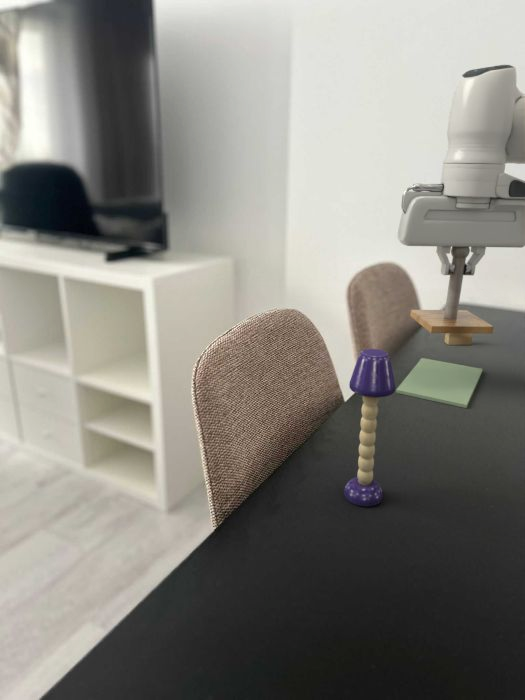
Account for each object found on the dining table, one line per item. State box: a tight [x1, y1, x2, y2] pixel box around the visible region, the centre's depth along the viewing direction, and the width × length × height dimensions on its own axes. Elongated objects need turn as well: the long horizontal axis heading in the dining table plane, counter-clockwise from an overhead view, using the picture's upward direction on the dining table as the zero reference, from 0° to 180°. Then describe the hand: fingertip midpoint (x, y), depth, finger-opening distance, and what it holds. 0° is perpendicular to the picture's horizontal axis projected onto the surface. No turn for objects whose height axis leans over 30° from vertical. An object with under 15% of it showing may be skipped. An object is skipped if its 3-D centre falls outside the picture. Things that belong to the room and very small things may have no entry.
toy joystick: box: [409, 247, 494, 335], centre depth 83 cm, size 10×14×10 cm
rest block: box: [443, 333, 474, 346], centre depth 109 cm, size 5×2×4 cm, turn 94°
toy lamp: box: [343, 348, 396, 508], centre depth 54 cm, size 5×5×17 cm
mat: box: [395, 357, 484, 409], centre depth 89 cm, size 18×11×1 cm, turn 151°
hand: (457, 274), depth 83 cm, fingers closed on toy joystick
